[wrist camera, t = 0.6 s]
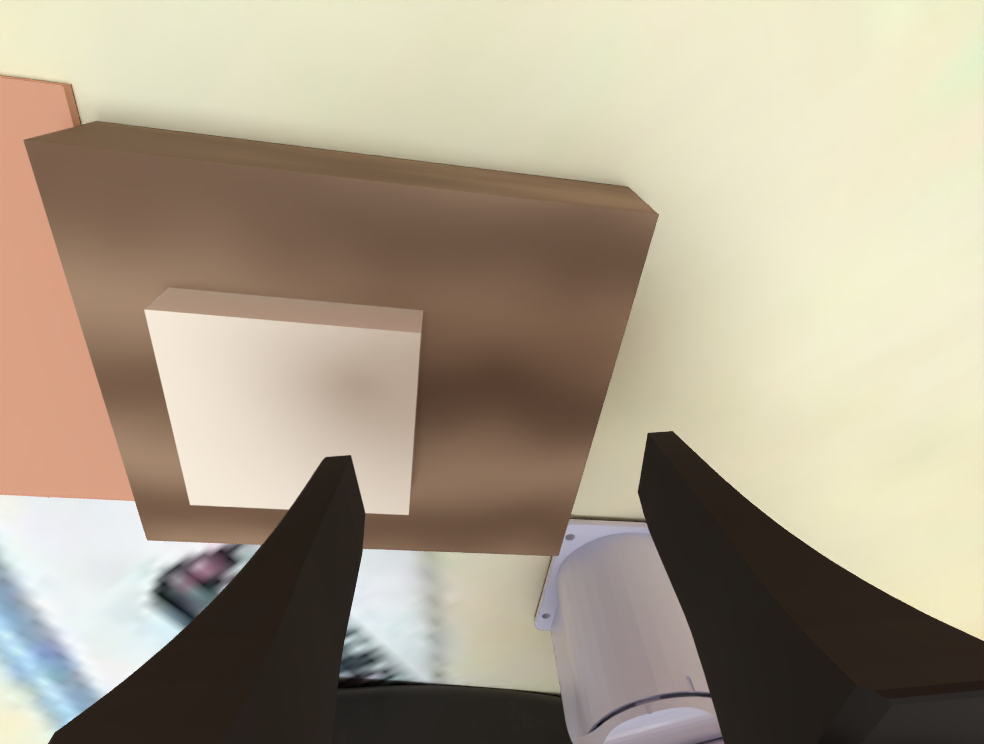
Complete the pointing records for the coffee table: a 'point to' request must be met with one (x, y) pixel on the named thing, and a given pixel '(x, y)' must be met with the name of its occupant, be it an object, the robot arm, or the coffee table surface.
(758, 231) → the coffee table surface
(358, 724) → the magazine
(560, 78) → the coffee table surface
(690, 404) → the coffee table surface
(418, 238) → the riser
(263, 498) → the coaster
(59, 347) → the mat
